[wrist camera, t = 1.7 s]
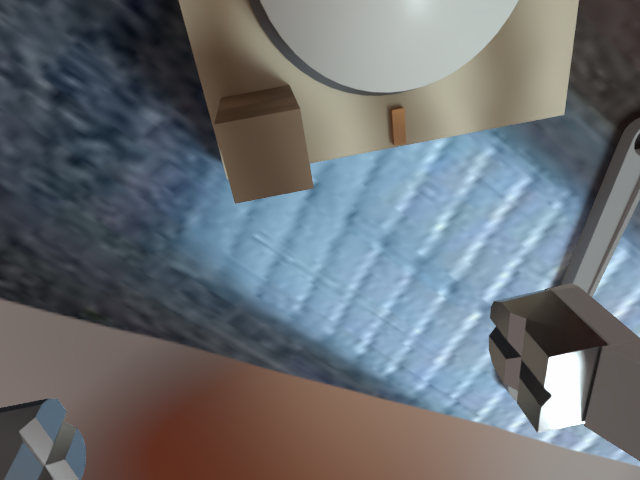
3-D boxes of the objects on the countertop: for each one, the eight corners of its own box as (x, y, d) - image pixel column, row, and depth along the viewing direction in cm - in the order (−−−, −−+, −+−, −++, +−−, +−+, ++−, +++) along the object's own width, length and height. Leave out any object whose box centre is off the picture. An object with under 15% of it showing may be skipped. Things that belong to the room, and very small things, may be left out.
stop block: (289, 84, 23) (300, 108, 18) (301, 151, 25) (313, 188, 20) (221, 97, 23) (213, 124, 18) (237, 163, 25) (234, 203, 20)
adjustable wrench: (623, 111, 29) (644, 117, 28) (700, 125, 31) (724, 132, 29) (490, 386, 40) (500, 401, 39) (551, 388, 42) (563, 403, 40)
